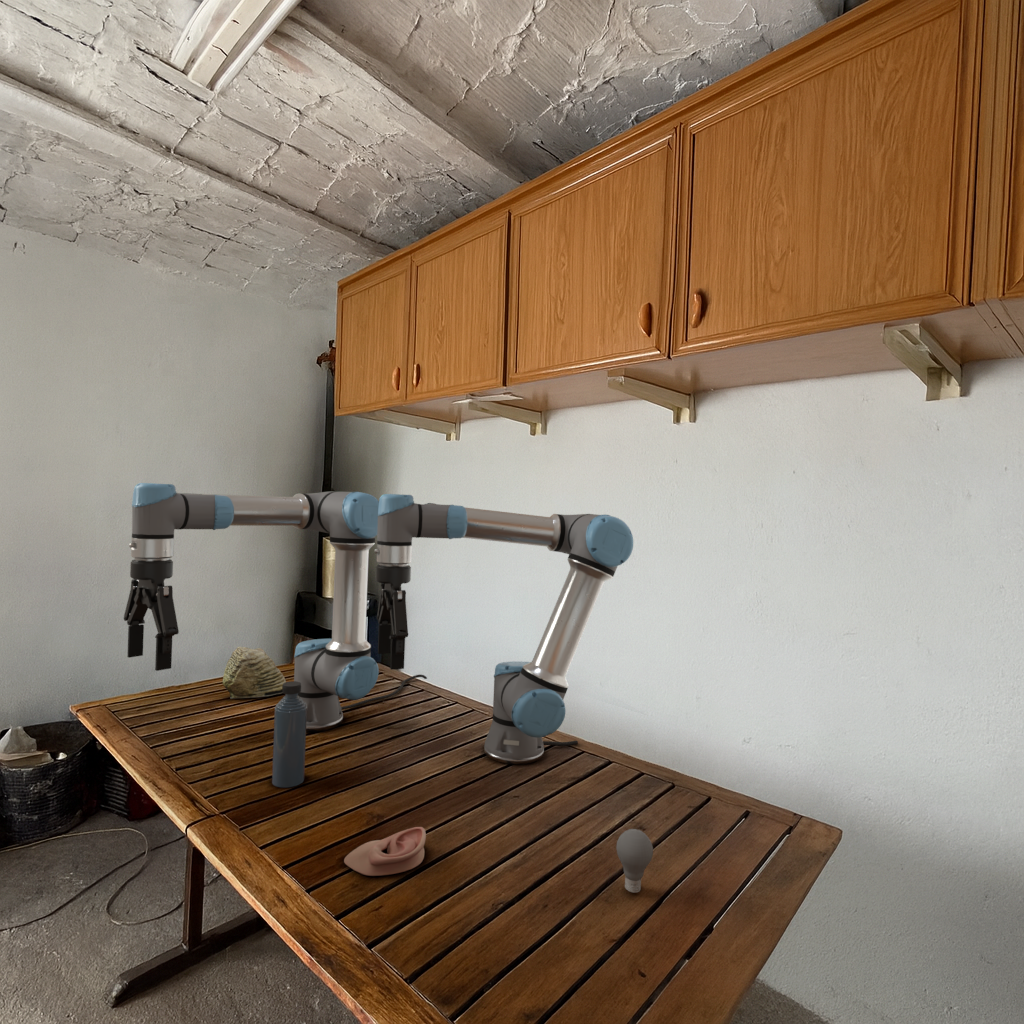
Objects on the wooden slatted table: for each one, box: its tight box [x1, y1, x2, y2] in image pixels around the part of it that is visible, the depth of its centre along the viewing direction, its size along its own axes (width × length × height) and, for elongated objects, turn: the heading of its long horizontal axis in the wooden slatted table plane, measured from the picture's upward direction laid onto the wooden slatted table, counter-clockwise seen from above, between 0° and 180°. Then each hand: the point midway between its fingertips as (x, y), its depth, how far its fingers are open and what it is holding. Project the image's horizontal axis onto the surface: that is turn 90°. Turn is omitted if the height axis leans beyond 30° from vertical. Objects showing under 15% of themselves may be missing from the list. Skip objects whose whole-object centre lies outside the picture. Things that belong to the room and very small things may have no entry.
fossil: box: [222, 646, 287, 699], centre depth 198 cm, size 9×18×15 cm, turn 132°
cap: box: [282, 680, 301, 695], centre depth 140 cm, size 4×4×2 cm
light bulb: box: [615, 828, 654, 894], centre depth 106 cm, size 6×6×10 cm
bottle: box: [271, 693, 307, 789], centre depth 140 cm, size 7×7×21 cm
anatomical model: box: [343, 826, 427, 877], centre depth 112 cm, size 13×4×12 cm
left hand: (148, 662), depth 129 cm, fingers open, 13 cm apart
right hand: (390, 660), depth 139 cm, fingers open, 13 cm apart
